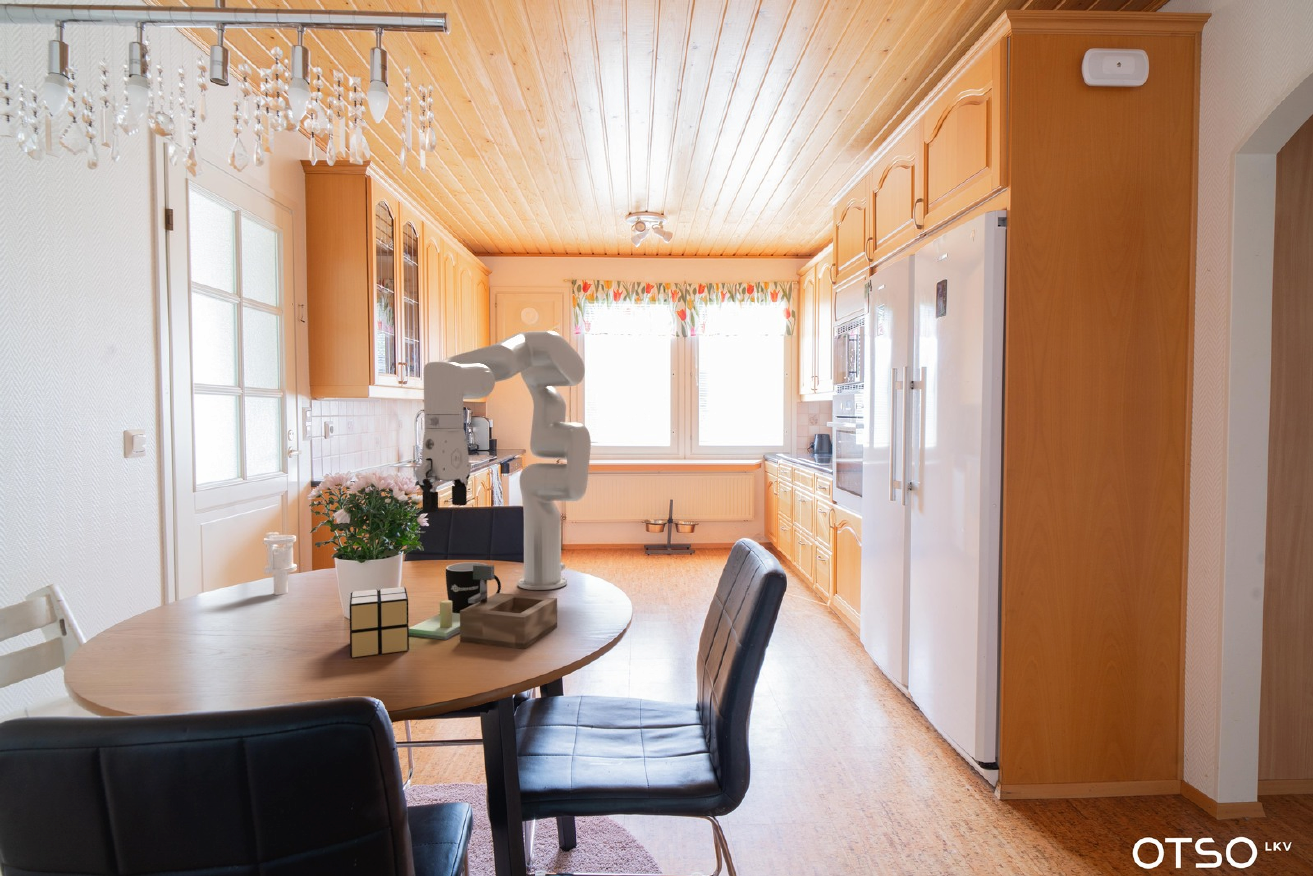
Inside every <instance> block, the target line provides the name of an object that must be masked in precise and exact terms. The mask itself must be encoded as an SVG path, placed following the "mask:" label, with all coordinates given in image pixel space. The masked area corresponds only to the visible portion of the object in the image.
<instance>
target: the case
mask: <svg viewBox="0 0 1313 876" xmlns="http://www.w3.org/2000/svg"><path fill="white" fill-rule="evenodd" d="M556 628H558V598H556V597H548V596H546V597H545V596H537V595H536V596H534V595H525V594H514V593H513V594H512V593H501V592H500V593H496V592H495V594H492V595H490V596H487V602H478V603H475V604H473V605H471V606H469V607H467V608H465V609H463V610H461V611H460V633H459V642H461V643H471V644H477V645H478V644H479V645H488V646H496V647H497V646H498V647H503V648H513V649H514V648H515V649H523V650H525V649H527V648H528V647H530V646H531V645H532V644H534V643H536V642H537V641H538V640H540V639H542V638H543V637H544V636H546V635H548V634H549V633H550V632H552V631H553V630H555V629H556Z"/></svg>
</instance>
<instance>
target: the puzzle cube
mask: <svg viewBox="0 0 1313 876" xmlns="http://www.w3.org/2000/svg"><path fill="white" fill-rule="evenodd" d="M348 606H349V654H350V656H349V657H350V658H351V659H357V658H365V657H371V656H373V657H374V656H379V655H380V654H381V655H388V654H397V653H404V652H408V651H409V650H410V636H409V628H410V627H409V622H410V621H409V596H408V591H407V588H406V587H405V586H399V587H398V586H397V587H389V588H388V587H387V588H380V589H365V590H355V591H352V592H351V593H350V599H349V605H348Z"/></svg>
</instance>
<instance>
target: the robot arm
mask: <svg viewBox="0 0 1313 876" xmlns="http://www.w3.org/2000/svg"><path fill="white" fill-rule="evenodd" d="M585 369H586V368H585V364H584V361H583V358H582V357H581V356H580V354H579V352H577V350H576V349H575V348H573V346H572V345H571V344H570V343H569V342H568V340H566V338H564V337H563V336H562V335H561V334H559V333H557V332H556V331H553V330H537V331H536V330H535V331H532V330H531V331H522V332H517V333H514V334H512V335H510V336H508V337H506V338H504V339H503V340H499V341H498V342H496V343H494V344H491V345H488V346H484V347H481V348H477V349H473V350H470V351H466V352H462V353H459V354H456V355H453V356H449V357H447V358H445V359H442V360H441V361H430V362H427V363H426V364H425V365H424V366H423V373H422V374H423V410H424V411H423V413H424V415H423V417H424V418H423V419H424V422H423V425H424V427H423V428H424V433H423V438H422V448H421V465H420V466H419V467H418V468H417V469H416V470H415V471H414V474H415V476H416V477H415V478H416V480H417V485H418V486H419V487H420V488H419V491H420V492H422V493H421V494H422V512H423V513H438V512H439V492H438V491H437V489H438V486H439V484H440V482H441V481H442V482H449V481H451V482H452V484H453V485H452V486H451V504H452V506H467V505H468V504H467V503H468V502H467V501H468V498H467V494H468V492H467V491H468V489H467V486H468V485H469V478H470V476H471V474H470V473H471V469H472V464H471V462H470V459H469V458H470V457H469V448H468V447H469V446H468V439H467V434H466V431H465V430H464V423H465V422H464V400H479V399H484V398H486V397H488V396H489V395H491V393H492V392H493V390H494V389H495V385H496V383H498V382H502V381H507V380H510V379H511V378H513V377H514V376H516V375H518V374H519V373H520V376H521V378H522V380H523V382H524V384H525V385H526V387H527V389H528V392H529V394H530V396H531V399H532V404H533V409H532V410H533V411H532V413H533V414H532V423H531V430H530V442H529V448H530V452H531V454H532V455H533V456H534V457H536V458H540V459H550V460H552V459H553V460H566V463H553V462H552V463H550V462H549V463H548V462H547V463H546V462H545V463H544V462H542V463H541V462H539V463H538V462H537V463H536V462H535V463H532V464H529V465H527V466H525V467H524V468H523V469H522V470H521V472H520V475H519V489H520V493H521V499H522V506H523V507H522V508H523V577H521V578H520V579H518V581H517V585H518V587H519V588H522V589H524V590H530V591H531V590H532V591H548V590H554V589H560V588H563V587H564V586H566V585H567V584H568V579H567V577H565V576H562V571H563V570H565V569H566V565H565V563H563V562H562V517H561V513H560V511H559V508H558V506H557V505H556V504H555V502H554V501H556V502H557V501H558V502H578V501H580V500H582V498H584V496H585V494H586V492H587V488H588V481H589V480H588V479H589V469H590V460H591V459H590V458H591V457H590V456H591V445H592V443H591V442H592V441H591V435H590V431H589V430H588V428H587V426H586V425H584V424H582V423H579V422H566V414H567V405H566V401H565V399H564V397H563V396H562V394H561V393H560V392H559V390H558V389H557V388H556V387H574V386H577V385H579V384H580V383H581V382H582V381H583V379H584V377H585V371H586V370H585Z"/></svg>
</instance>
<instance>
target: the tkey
mask: <svg viewBox="0 0 1313 876" xmlns="http://www.w3.org/2000/svg"><path fill="white" fill-rule="evenodd" d="M494 575H495V564H486V565H483V564H475V565H473V579H477V580H480V593H479V594H477V595H475V596H473V597H471V598H469V599H468V603H476V602H478V601H480V602H487V598H488V581H492V580H495V579H494Z"/></svg>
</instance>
